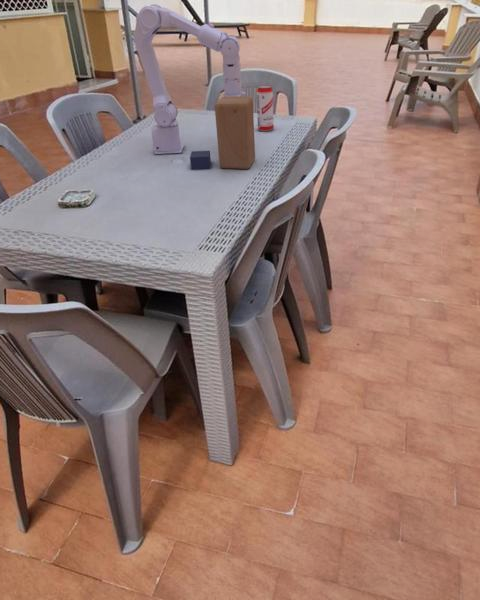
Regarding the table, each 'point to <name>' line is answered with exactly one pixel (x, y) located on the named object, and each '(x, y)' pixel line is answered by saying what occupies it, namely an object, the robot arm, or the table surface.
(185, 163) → the table surface
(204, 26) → the robot arm
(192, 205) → the table surface
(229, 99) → the wooden block
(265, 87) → the beer can
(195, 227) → the table surface
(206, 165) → the navy block
